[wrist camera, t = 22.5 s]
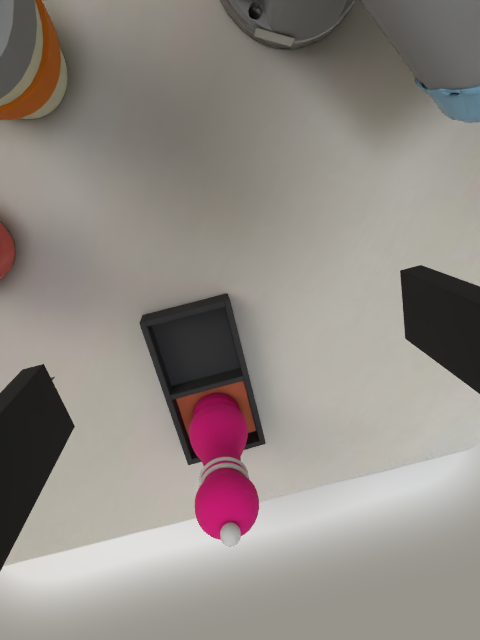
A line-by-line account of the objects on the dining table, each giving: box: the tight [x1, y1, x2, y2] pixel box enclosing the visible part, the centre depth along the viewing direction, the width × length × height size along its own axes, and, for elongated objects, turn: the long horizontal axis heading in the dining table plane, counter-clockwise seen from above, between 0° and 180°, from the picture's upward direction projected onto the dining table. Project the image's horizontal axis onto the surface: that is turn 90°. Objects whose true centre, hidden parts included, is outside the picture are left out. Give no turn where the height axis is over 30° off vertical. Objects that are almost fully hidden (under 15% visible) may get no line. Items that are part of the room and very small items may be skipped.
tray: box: [140, 294, 265, 465], centre depth 47 cm, size 11×21×3 cm, turn 13°
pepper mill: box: [189, 393, 259, 547], centre depth 40 cm, size 7×7×20 cm
